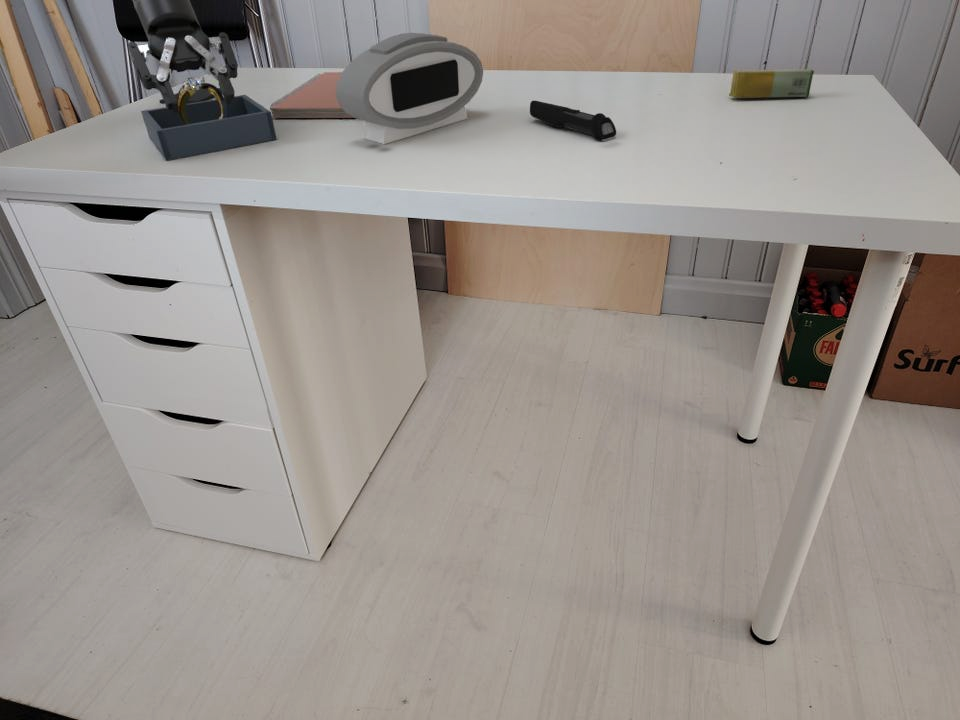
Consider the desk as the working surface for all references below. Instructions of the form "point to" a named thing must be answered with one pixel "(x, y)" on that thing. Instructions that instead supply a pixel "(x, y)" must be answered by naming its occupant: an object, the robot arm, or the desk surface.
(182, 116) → the ring
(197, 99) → the mat
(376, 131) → the alarm clock
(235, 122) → the dark blue tray
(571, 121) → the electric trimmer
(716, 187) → the desk surface
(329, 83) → the notebook
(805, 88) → the medication box
